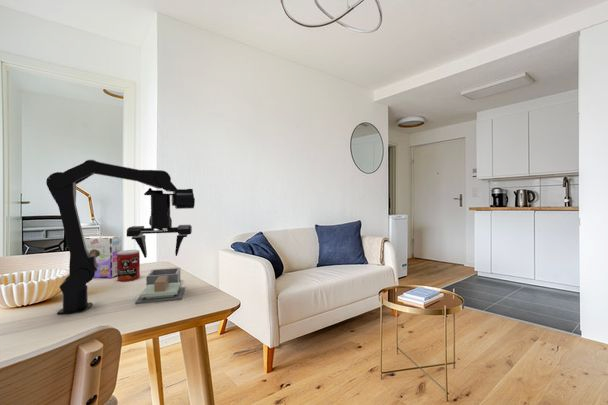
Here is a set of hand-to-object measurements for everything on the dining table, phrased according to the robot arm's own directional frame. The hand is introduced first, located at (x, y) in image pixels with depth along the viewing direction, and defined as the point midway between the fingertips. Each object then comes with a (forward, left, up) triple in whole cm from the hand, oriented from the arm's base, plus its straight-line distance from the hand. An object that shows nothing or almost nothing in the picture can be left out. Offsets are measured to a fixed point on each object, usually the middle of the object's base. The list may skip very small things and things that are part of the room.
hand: (161, 256), depth 97 cm
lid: (0, 0, -12) cm, 12 cm away
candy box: (+34, +28, -13) cm, 46 cm away
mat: (0, 0, -13) cm, 13 cm away
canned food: (+26, +16, -13) cm, 34 cm away
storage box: (+12, +1, -13) cm, 18 cm away
